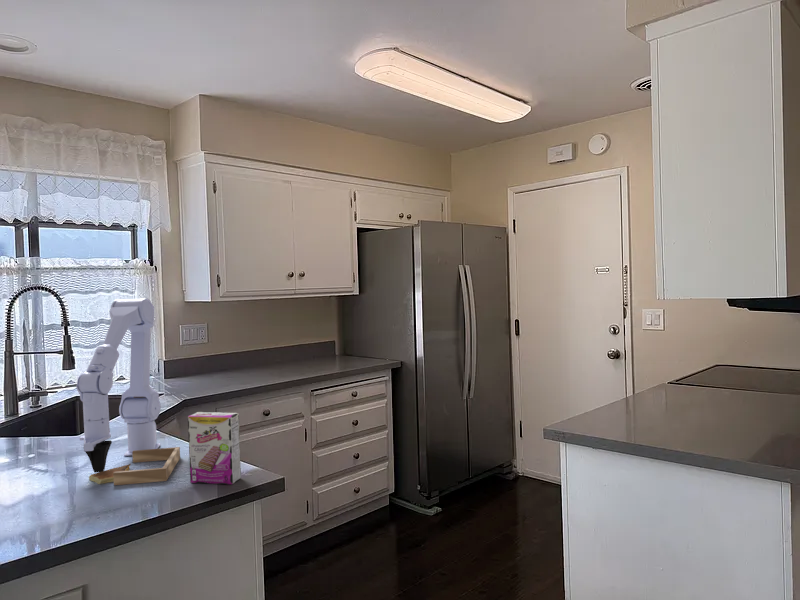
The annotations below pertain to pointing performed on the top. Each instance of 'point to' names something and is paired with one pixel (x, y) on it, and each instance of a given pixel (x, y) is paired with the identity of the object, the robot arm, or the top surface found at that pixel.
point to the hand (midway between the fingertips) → (99, 471)
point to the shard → (107, 474)
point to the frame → (149, 474)
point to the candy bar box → (214, 447)
